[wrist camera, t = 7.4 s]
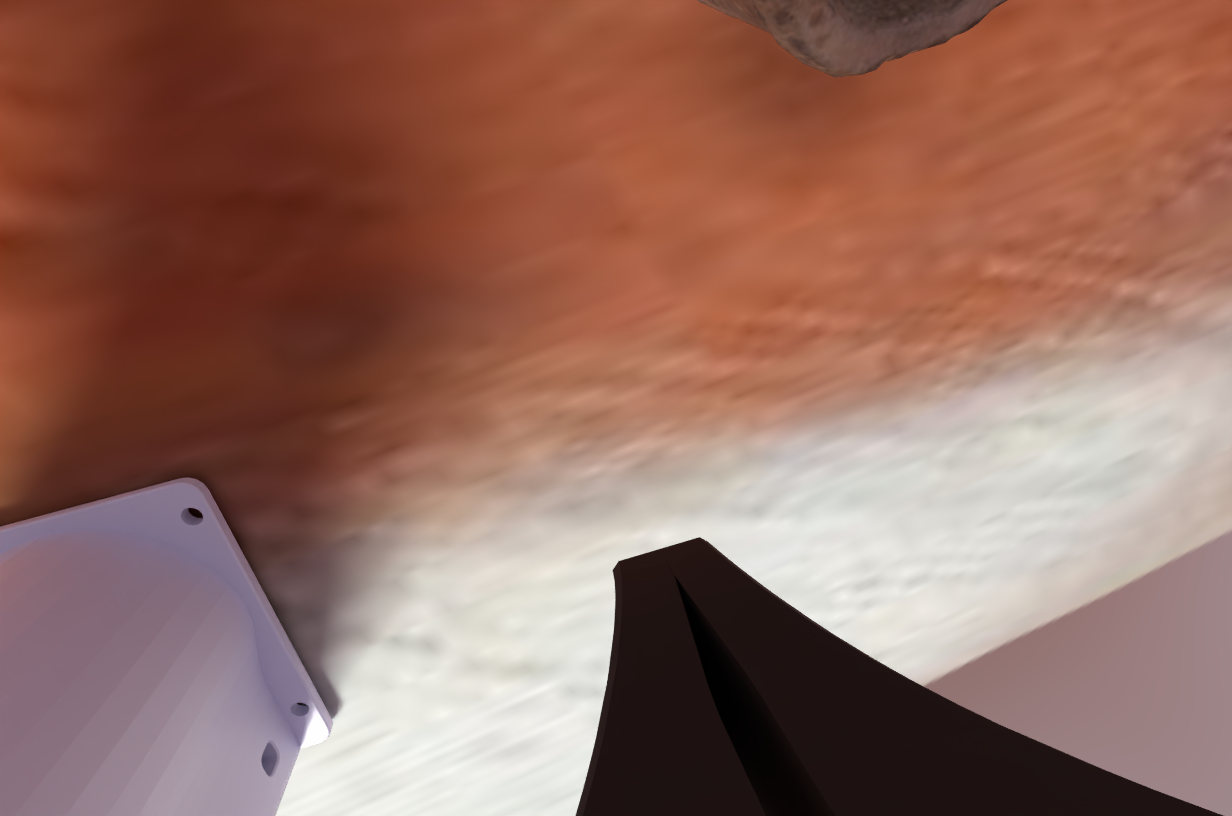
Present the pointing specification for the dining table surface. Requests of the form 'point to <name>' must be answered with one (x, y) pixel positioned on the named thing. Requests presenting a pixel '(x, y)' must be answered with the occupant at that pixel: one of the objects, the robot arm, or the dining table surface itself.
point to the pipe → (857, 27)
